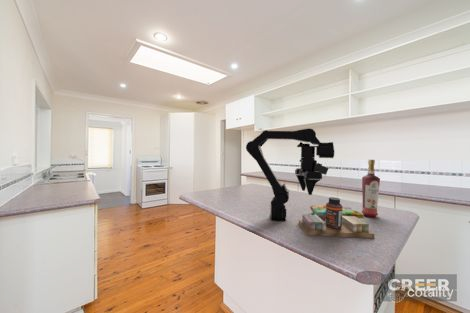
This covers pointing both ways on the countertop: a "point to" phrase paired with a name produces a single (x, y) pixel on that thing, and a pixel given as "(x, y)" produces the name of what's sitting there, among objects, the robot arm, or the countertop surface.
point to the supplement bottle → (333, 213)
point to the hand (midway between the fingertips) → (306, 192)
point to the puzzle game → (321, 212)
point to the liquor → (370, 191)
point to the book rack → (349, 229)
